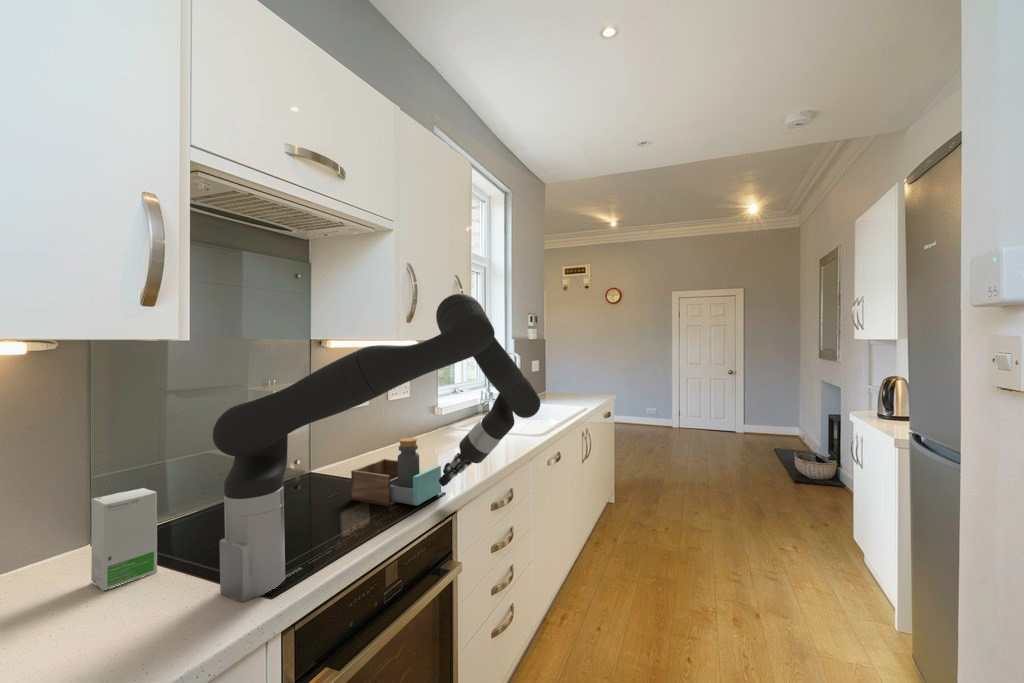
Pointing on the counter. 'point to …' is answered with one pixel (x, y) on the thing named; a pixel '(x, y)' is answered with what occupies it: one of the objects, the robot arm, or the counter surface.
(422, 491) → the teal drawer
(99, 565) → the skincare box
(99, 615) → the counter surface
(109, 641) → the counter surface
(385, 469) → the housing
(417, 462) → the bottle
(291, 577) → the counter surface
